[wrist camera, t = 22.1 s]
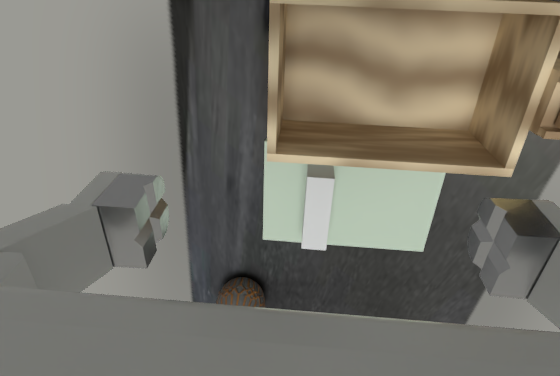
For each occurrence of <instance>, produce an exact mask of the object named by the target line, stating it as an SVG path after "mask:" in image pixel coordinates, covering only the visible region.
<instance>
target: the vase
mask: <svg viewBox="0 0 560 376" xmlns="http://www.w3.org/2000/svg"><path fill="white" fill-rule="evenodd" d="M216 304H224V305H236V306H248V307H260V308H265V297H264V293H263V291H262V289H261V287H260V286H259V285H258V283H257V282H255V281H254V280H252V279H250V278H247V277H237V278H234V279H232V280H230V281H228V282H227V283H226V284H225V285H224V286H223V287H222V289H221V290H220V292H219V294H218V297H217V300H216Z"/></svg>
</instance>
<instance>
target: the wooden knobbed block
mask: <svg viewBox="0 0 560 376" xmlns="http://www.w3.org/2000/svg"><path fill="white" fill-rule="evenodd" d="M555 126H556V127H558V128H560V113H559V115H558V118H557V120H556V123H555Z"/></svg>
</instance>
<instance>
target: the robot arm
mask: <svg viewBox="0 0 560 376" xmlns="http://www.w3.org/2000/svg"><path fill="white" fill-rule="evenodd" d="M164 192H165V185H164V180H163V179H162V178H161V176H157V175H144V174H132V173H122V172H106V171H105V172H100V173H99V174H98V175H97V176H96V177H95V178H94V179H93V181H91V182H90V183H89V184H88V186H86V187H85V188H84V189H83V190H82V192H80V194H79V195H78V196H77V197H76V198H75V199H74V200H73V201H72V202H71V203H70V204H61V205H59V206H56V207H54V208H51V209H49V210H46V211H43V212H41V213H38V214H36V215H33V216H31V217H28V218H26V219H23V220H21V221H18V222H16V223H13V224H10V225H8V226H5V227H3V228H0V376H560V332H550V331H538V330H525V329H513V328H501V327H489V326H477V325H465V324H453V323H441V322H429V321H417V320H405V319H393V318H381V317H368V316H356V315H344V314H332V313H320V312H308V311H296V310H284V309H272V308H260V307H248V306H236V305H224V304H212V303H200V302H188V301H176V300H164V299H152V298H139V297H127V296H116V295H104V294H103V295H102V294H92V293H80V292H81V291H83V290H84V289H85V288H87V287H88V286H90V285H91V284H92V283H94V282H95V281H97V280H98V279H99V278H101V277H102V276H104V275H105V274H106V273H108V272H109V271H110V270H112V269H113V267H129V268H147V267H148V265H149V264H150V262H151V260H152V258H153V256H154V254H155V253H156V244H155V243H157V242H158V241H160V240H162V239H163V237H164V235H165V233H166V231H167V227H168V222H169V211H168V205H167V204H166V203H165V201H164V200H163V199H162V198H161V197H162V195H163V194H164ZM477 213H478V215H479V218H480V220H479V221H478V222H476V223H475V224H474V225H472V226H471V229H470V232H469V235H468V251H469V255H470V257H471V260H472V262H473V263H475V264H476V265H477V266H479V267H480V268H482V270H481V272H480V275H479V276H480V277H481V279H482V281H483V283H484V285H485V287H486V289H487V291H488V293H489V295H490V296H499V297H509V298H518V299H527V302H528V303H530V304H531V305H532V306H533V307H535V308H536V309H537V310H538V311H539V312H540V313H541V314H543V315H544V316H545V317H546V318H547V319H548V320H550V321H551V322H552V323H553V324H554V325H555V326H557V327H558V328H559V329H560V208H559V207H558V206H557V205H556V204H555V203H554V202H551V201H549V200H523V199H499V198H484V199H483V200H482V202H481V203H480V205H479V207H478V210H477Z"/></svg>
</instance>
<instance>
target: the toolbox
mask: <svg viewBox="0 0 560 376" xmlns="http://www.w3.org/2000/svg"><path fill="white" fill-rule="evenodd" d="M559 113H560V2H558V1H550V0H270V13H269V67H268V122H267V161H269V162H284V163H300V164H316V165H331V166H347V167H363V168H378V169H394V170H410V171H425V172H441V173H457V174H472V175H488V176H504V177H511V176H512V173H513V171H514V168H515V165H516V163H517V160H518V158H519V155H520V152H521V150H522V147H523V145H524V142H525V139H526V137H527V134H528V131H529V130H530V131H532V132H533V133H534V134H536V135H539V136H541V137H542V138H543V139H559V140H560V128H558V127H556V126H555V123H556V120H557V118H558V115H559Z"/></svg>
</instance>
